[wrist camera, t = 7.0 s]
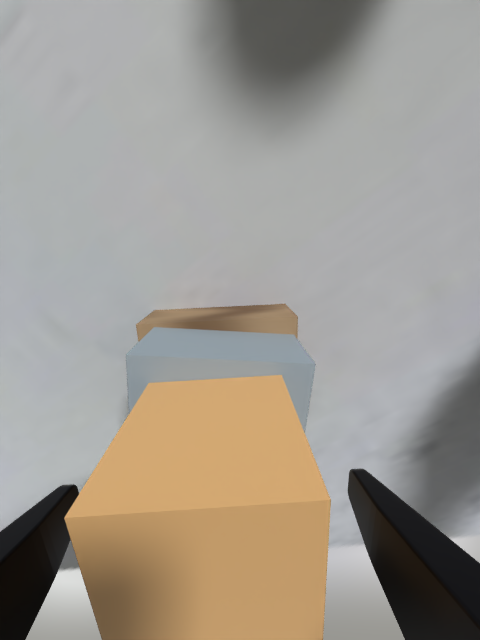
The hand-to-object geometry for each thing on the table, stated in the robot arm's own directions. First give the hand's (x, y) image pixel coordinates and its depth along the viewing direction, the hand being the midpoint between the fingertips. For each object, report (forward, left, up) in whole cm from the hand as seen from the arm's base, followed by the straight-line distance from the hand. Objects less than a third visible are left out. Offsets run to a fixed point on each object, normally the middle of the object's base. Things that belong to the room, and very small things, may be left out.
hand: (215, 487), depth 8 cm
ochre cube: (0, 0, -2) cm, 2 cm away
